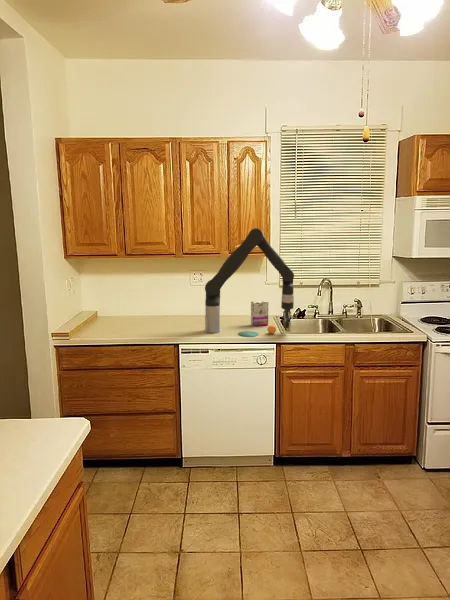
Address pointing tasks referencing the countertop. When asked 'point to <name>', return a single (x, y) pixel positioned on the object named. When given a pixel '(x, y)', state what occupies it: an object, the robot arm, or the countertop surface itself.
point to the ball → (271, 329)
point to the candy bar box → (259, 313)
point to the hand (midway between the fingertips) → (286, 327)
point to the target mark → (248, 334)
